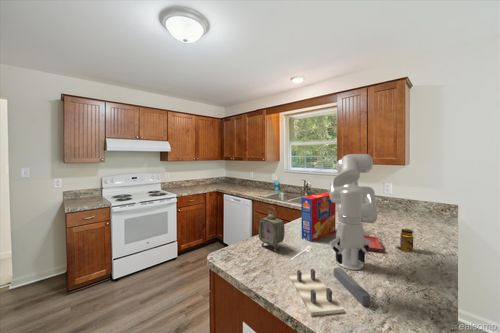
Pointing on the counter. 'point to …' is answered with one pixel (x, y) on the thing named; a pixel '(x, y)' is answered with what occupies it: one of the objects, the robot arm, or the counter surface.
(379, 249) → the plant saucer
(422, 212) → the counter surface
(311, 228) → the pasta box
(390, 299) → the counter surface
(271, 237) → the tabletop clock
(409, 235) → the condiment
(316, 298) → the clip board
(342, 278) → the bar
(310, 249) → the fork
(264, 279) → the counter surface
